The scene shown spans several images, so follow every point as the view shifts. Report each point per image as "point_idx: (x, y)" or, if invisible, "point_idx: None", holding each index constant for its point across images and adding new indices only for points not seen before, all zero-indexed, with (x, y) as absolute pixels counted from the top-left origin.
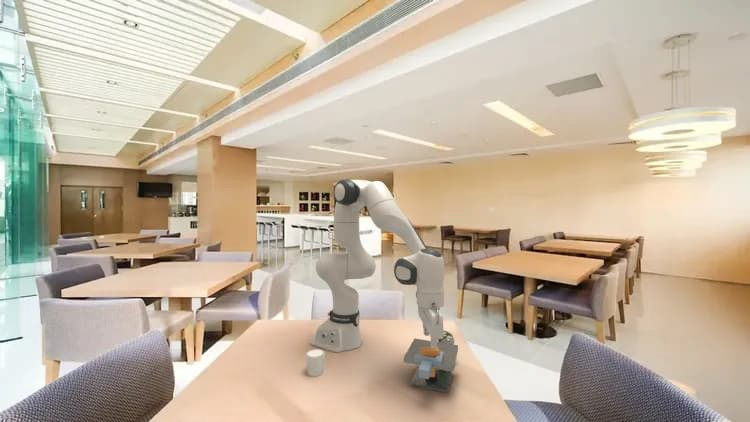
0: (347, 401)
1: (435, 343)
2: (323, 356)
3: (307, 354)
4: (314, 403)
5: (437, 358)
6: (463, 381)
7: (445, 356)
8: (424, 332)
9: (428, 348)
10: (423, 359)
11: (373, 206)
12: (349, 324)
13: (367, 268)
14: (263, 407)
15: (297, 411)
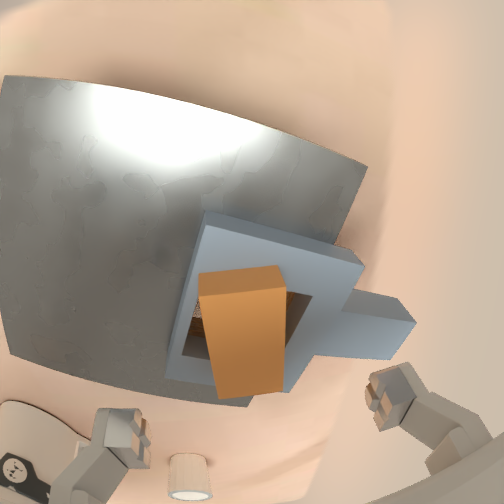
0: (296, 409)
1: (423, 394)
2: (195, 487)
3: (200, 500)
4: (297, 440)
5: (323, 284)
6: (158, 58)
7: (206, 194)
8: (149, 454)
9: (242, 359)
10: (311, 352)
11: None
12: (46, 480)
13: None
14: (300, 469)
15: (316, 446)
